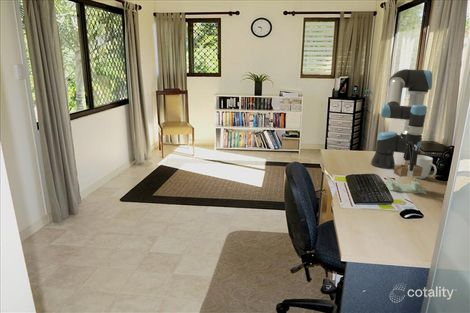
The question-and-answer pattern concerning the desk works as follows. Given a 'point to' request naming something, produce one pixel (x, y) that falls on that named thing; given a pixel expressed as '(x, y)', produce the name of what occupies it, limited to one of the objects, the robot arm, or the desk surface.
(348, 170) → the desk surface
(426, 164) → the mug
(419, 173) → the door
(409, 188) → the carcass
